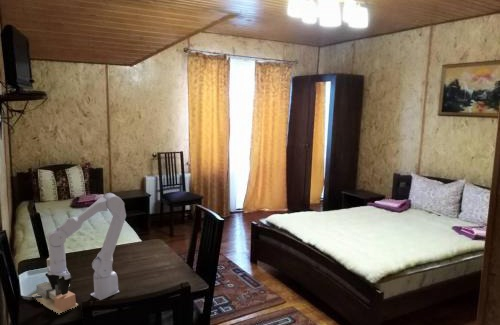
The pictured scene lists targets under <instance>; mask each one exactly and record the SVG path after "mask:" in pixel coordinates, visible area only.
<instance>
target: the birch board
mask: <svg viewBox="0 0 500 325" xmlns="http://www.w3.org/2000/svg"><path fill="white" fill-rule="evenodd" d="M31 296H37V293H34V294H31ZM36 300H37V301H36ZM36 300H35V301H36V302H38V303H39V302H40V304H41V305H42V304H43V306H44V307H45V308H47V309H49V310H51V311H52V310H53V313H55V312H56V314H57V313H58V314H57V315H61V314H60V313H62V312H64V313H66V312H68V311H67V310H69V309H71V310H73V309H75V307H76V308H77V306H78V307H79V303H77V302H76V305H75V306H72V307H70V308H68V309H65V310H63V311H60V310H58V309H57V308H55V302H54V300H52V299H51V298H50V299H47V300H46V299H44V298H36ZM72 308H73V309H72ZM65 311H66V312H65ZM69 311H70V310H69ZM62 314H63V313H62Z"/></svg>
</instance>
